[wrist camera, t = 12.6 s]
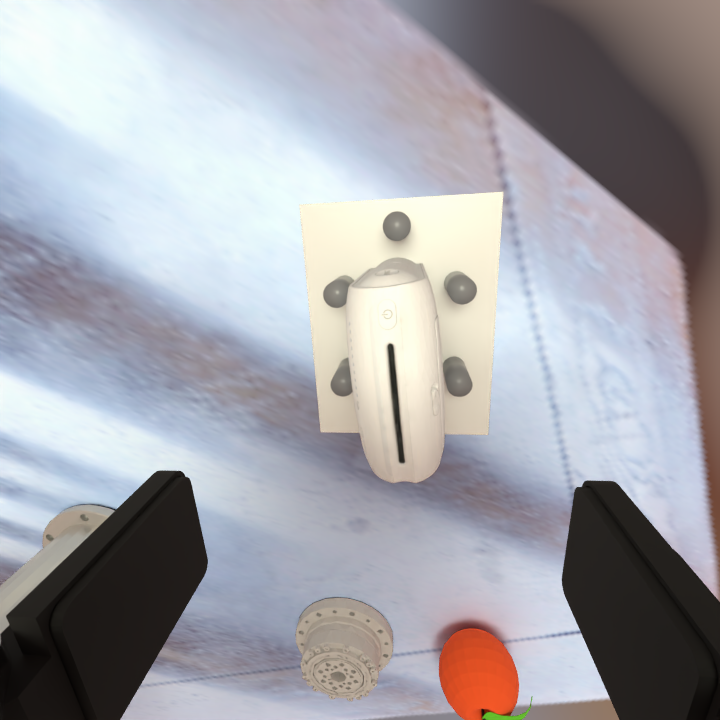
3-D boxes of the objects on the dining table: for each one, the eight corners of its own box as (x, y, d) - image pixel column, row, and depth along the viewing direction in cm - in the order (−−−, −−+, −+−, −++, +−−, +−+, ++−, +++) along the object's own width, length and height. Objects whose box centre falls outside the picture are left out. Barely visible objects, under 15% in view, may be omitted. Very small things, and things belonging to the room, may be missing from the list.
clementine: (526, 618, 37) (552, 705, 30) (512, 668, 39) (533, 759, 32) (441, 605, 37) (448, 687, 31) (432, 654, 40) (436, 741, 33)
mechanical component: (333, 673, 43) (411, 648, 40) (325, 721, 39) (411, 697, 36) (280, 613, 41) (359, 582, 38) (266, 656, 36) (353, 625, 34)
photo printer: (363, 259, 26) (326, 283, 15) (426, 251, 26) (441, 271, 14) (378, 397, 29) (358, 508, 18) (435, 394, 29) (453, 507, 17)
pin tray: (484, 425, 31) (498, 461, 26) (324, 423, 32) (310, 456, 28) (498, 193, 25) (518, 186, 21) (305, 206, 27) (283, 201, 22)
